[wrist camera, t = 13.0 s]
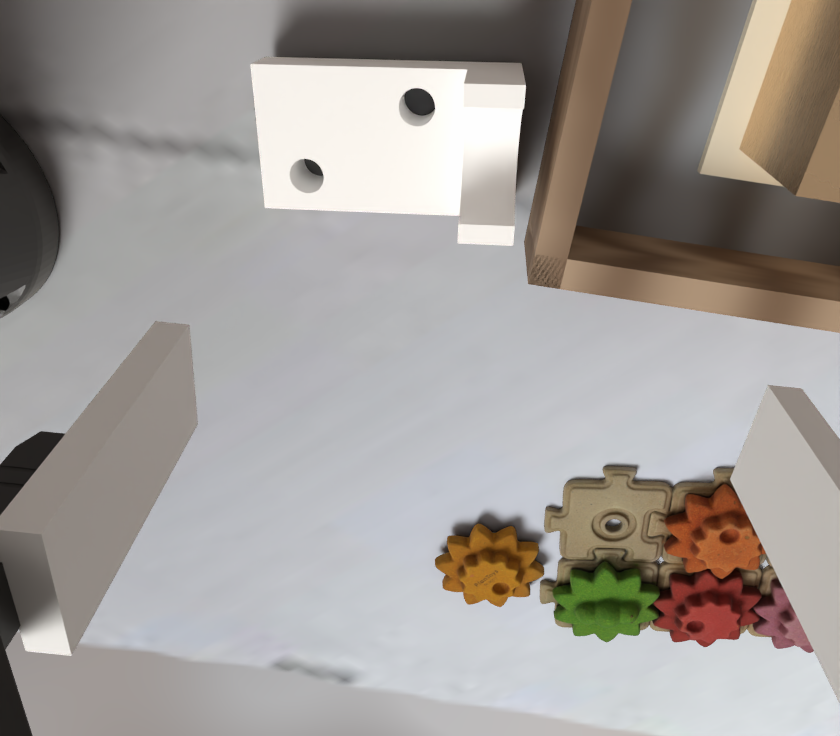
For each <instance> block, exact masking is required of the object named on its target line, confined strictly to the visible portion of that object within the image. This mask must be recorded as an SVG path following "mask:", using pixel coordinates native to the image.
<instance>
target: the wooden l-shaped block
mask: <svg viewBox="0 0 840 736" xmlns="http://www.w3.org/2000/svg"><path fill="white" fill-rule="evenodd" d="M739 150H741V151H742V152H743V153H744V154H745V155H747V156H748V157H749V158H750V159H752V160H753V161H754V162H755V163H756V164H758V165H759V166H760V167H761V168H762V169H764V170H765V171H766V172H767V173H768V174H770V175H771V176H772V177H773V178H774V179H776V180H777V181H778V182H779V183H780V184H782V185H783V186H784V187H785V188H786V189H788V190H789V191H790V192H791V193H793V194H794V195H795V196H798V197H805V198H811V199H818V200H824V201H831V202H837V203H840V0H791V3H790V6H789V9H788V11H787V14H786V17H785V20H784V23H783V26H782V28H781V31H780V34H779V37H778V40H777V43H776V46H775V48H774V51H773V54H772V57H771V60H770V63H769V65H768V68H767V71H766V74H765V77H764V80H763V82H762V85H761V88H760V91H759V94H758V97H757V100H756V102H755V105H754V108H753V111H752V114H751V117H750V119H749V122H748V125H747V128H746V131H745V134H744V136H743V139H742V142H741V145H740V148H739Z"/></svg>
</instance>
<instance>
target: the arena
mask: <svg viewBox="0 0 840 736" xmlns="http://www.w3.org/2000/svg"><path fill="white" fill-rule="evenodd" d="M752 1H753V0H576V3H575V7H574V12H573V17H572V21H571V26H570V31H569V35H568V40H567V45H566V49H565V54H564V59H563V63H562V68H561V73H560V77H559V82H558V87H557V91H556V96H555V101H554V105H553V110H552V115H551V119H550V124H549V129H548V133H547V138H546V143H545V147H544V152H543V157H542V161H541V166H540V171H539V175H538V180H537V185H536V189H535V194H534V199H533V203H532V208H531V213H530V217H529V222H528V227H527V231H526V236H525V241H524V245H525V255H526V266H527V276H528V284H531V285H538V286H544V287H551V288H557V289H563V290H570V291H576V292H583V293H589V294H595V295H602V296H608V297H615V298H621V299H627V300H634V301H640V302H646V303H653V304H659V305H666V306H672V307H678V308H685V309H691V310H698V311H704V312H710V313H717V314H723V315H730V316H736V317H742V318H749V319H755V320H762V321H768V322H774V323H781V324H787V325H794V326H800V327H806V328H813V329H819V330H825V331H832V332H838V333H840V203H837V202H831V201H824V200H818V199H811V198H805V197H798V196H795V195H794V194H793V193H791V192H790V191H789V190H788V189H786V188H785V187H783V186H777V185H770V184H764V183H757V182H751V181H744V180H738V179H731V178H725V177H718V176H712V175H705V174H700V173H699V172H698V171H697V169H698V166H699V163H700V160H701V157H702V154H703V151H704V148H705V145H706V142H707V139H708V136H709V132H710V129H711V126H712V123H713V120H714V117H715V114H716V111H717V108H718V105H719V102H720V99H721V96H722V93H723V90H724V87H725V84H726V80H727V77H728V74H729V71H730V68H731V65H732V62H733V59H734V56H735V53H736V50H737V47H738V44H739V41H740V38H741V35H742V32H743V29H744V25H745V22H746V19H747V16H748V13H749V10H750V7H751V4H752Z"/></svg>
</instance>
